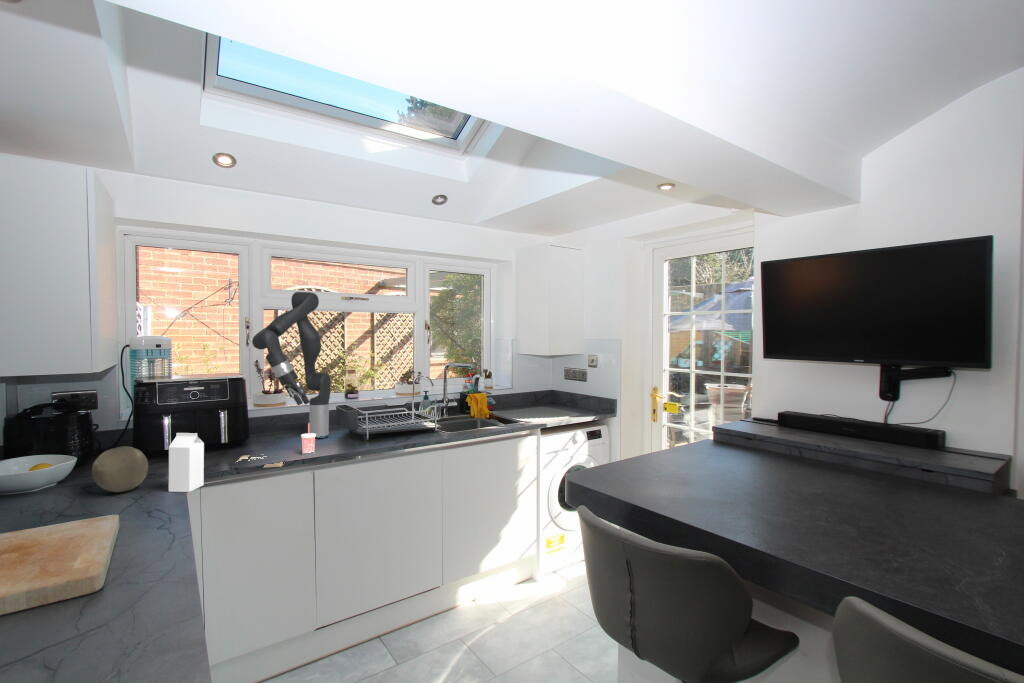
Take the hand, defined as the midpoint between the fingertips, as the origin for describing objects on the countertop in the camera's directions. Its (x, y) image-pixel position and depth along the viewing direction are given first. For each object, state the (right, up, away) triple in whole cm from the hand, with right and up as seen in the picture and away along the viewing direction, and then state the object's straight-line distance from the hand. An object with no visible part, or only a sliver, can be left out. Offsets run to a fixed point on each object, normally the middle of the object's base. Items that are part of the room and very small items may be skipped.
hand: (303, 403), depth 212 cm
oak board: (-10, -22, -17) cm, 29 cm away
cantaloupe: (-36, -22, -56) cm, 70 cm away
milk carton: (-17, -22, -51) cm, 59 cm away
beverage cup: (+4, -22, -4) cm, 23 cm away
